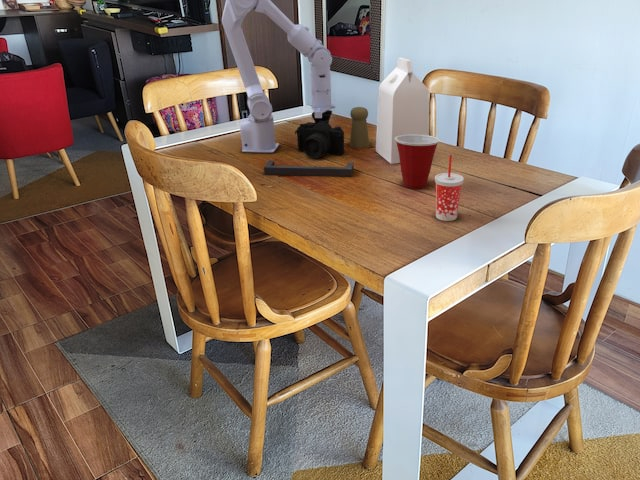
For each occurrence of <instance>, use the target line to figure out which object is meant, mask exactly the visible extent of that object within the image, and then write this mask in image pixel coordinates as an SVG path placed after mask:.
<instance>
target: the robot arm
mask: <svg viewBox="0 0 640 480" xmlns="http://www.w3.org/2000/svg"><path fill="white" fill-rule="evenodd" d="M251 10H253V11H254V12H257V13H261V14H265V15H266V16H267V17H268V18H269V19H271V21H273V22H274V23H275V24H276V25H277V26H278V27H279V28H280V29H282V30H283V31H284V32H285V34H286V35H287V42H288V43H289V44H290V45H291V46H293V48H295V49H296V50H297V51H298V52H299V53H300V54H301V55H302V56H303V57H305V58H307V60H308V62H309V63H310V73H309V74H310V91H311V92H310V94H311V106H310V109H311V110H312V111H313V112H311V118H312V119H313V121H314V123H316V124H317V123H319V121H320V120H322V121H326V120H328V123H329V124H330V119H331V116H332V114H333V110H332V109H336V107H337V106H336V104H333V103H332V81H331V80H332V79H331V78H332V77H331V65H332V63H333V57H332V54H331V51H330V50H329V49H328V48H327V47H325V45H324V44H323V41H321V39H318V38H316V37H315V36H314V35H313V34H312V33H311V32H310V28H309V27H308V26H307V25H303V24H294V22H292V20H291V19H289V18H288V16H287V15H286V14H284V13H283V11H281V9H279V8H278V7H277V5H276V4H275V3H273V1H272V0H225V2H224V8H223V11H222V16H221V24H222V27H223V30H224V32H225V35H226V38H227V41H228V44H229V46H230V49H231V53H232V55H233V58H234V61H235V64H236V66H237V69H238V72H239V75H240V78H241V81H242V83H243V87H244V89H245V93H246V95H247V100H246V105H247V107H248V109H249V115H248V116H247V117H246V118H242V119H241V120H240V123H239V124H240V126H239V130H240V131H239V132H240V140H241V147H242V148H241V149H242V150H241V152H242V153H262V154H263V153H269V154H273V153H275V152H276V150H277V149H278V147H279V146H280V143H279V142H276V135H275V134H276V133H275V123H274V116H273V115H272V114H273V105H272V103H271V102H270V100H269V97H268V96H267V95H266V94H265V92H264V90H263V87H262V85H261V82H260V79H259V75H258V73H257V70H256V66H255V63H254V60H253V58H252V55H251V52H250V48H249V46H248V42H247V40H246V37H245V35H244V31H243V28H242V23H243V22H244V20H245V18H246V15H247V14H248V13H250V11H251Z"/></svg>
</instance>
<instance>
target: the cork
mask: <svg viewBox="0 0 640 480" xmlns="http://www.w3.org/2000/svg"><path fill="white" fill-rule="evenodd" d="M349 115H350V118H351V129H350V137H349V146H350V147H351V148H358V149H361V148H367V147H369V146H370V145H371V144H370V137H369V129H368V123H367V119H368V117H369V111H368V108H366V107H364V106H356V107H352V108H351V109H350V114H349Z"/></svg>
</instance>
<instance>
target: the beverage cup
mask: <svg viewBox="0 0 640 480" xmlns="http://www.w3.org/2000/svg"><path fill="white" fill-rule="evenodd" d="M448 157H449V158H448V160H449V161H448V172H443V173H438V174H435V176H434V183H435V217H436V219H438V220H440V221H444V222H449V221H450V222H451V221H455V220H457V218H458V213H459V206H460V200H461V192H462V186H463V183H464V179H465V178H464V176H463V175H461V174H458V173H453V172H452V161H453V159H452V158H453V154H449V156H448Z"/></svg>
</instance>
